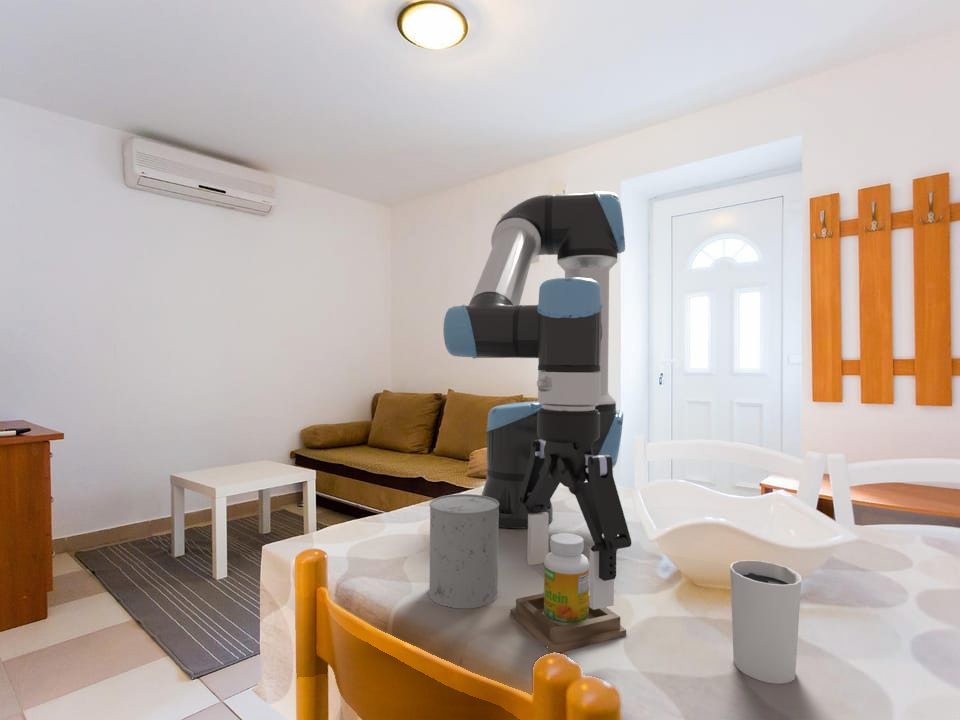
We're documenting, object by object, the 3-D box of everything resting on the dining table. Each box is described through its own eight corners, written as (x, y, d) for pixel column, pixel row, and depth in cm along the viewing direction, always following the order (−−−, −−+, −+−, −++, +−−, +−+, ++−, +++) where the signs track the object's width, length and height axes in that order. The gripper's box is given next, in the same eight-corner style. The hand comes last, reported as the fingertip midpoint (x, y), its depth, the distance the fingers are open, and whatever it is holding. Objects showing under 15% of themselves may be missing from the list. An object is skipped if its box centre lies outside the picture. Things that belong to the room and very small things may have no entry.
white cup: (731, 677, 54) (732, 579, 54) (726, 645, 60) (727, 556, 60) (807, 692, 52) (808, 589, 52) (794, 657, 58) (795, 565, 58)
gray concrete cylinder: (419, 584, 76) (420, 497, 76) (481, 574, 80) (482, 491, 80) (442, 614, 67) (443, 516, 67) (510, 601, 71) (511, 508, 71)
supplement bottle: (534, 618, 65) (535, 538, 65) (559, 603, 69) (560, 528, 69) (572, 634, 61) (573, 549, 61) (596, 617, 65) (597, 537, 65)
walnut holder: (576, 599, 71) (576, 584, 71) (626, 635, 62) (626, 617, 62) (510, 613, 67) (510, 597, 67) (553, 653, 58) (553, 635, 58)
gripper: (495, 400, 75) (493, 552, 75) (608, 419, 52) (606, 637, 52) (541, 399, 78) (540, 545, 78) (667, 416, 55) (665, 622, 55)
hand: (566, 582), depth 65 cm, fingers open, 13 cm apart
